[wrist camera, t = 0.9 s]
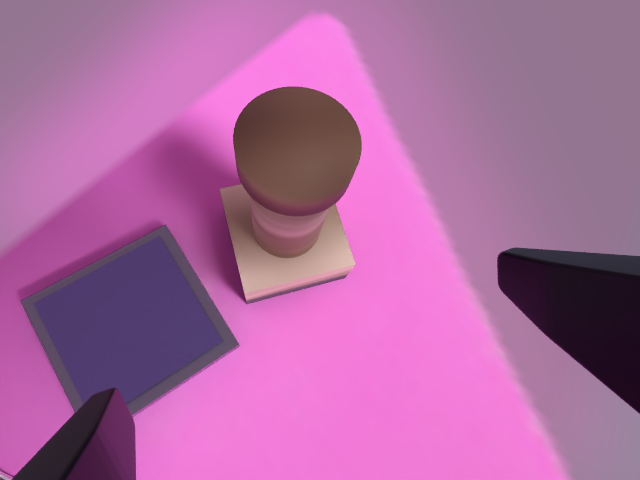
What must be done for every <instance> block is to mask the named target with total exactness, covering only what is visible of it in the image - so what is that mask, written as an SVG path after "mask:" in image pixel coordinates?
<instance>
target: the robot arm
mask: <svg viewBox="0 0 640 480" xmlns="http://www.w3.org/2000/svg"><path fill="white" fill-rule="evenodd" d="M497 268H498V285H499V287H500V289H501V291H502V292H503V293H504V294H505V295H506V296H507V297H508V298H509V299H510V300H511V301H512V302H513V303H514V304H515V305H516V306H517V307H518V308H519V309H520V310H521V311H522V312H523V313H524V314H525V315H526V316H527V317H528V318H529V319H530V320H531V321H532V322H533V323H534V324H535V325H536V326H537V327H538V328H539V329H540V330H541V331H542V332H543V333H544V334H545V335H546V336H548V337H549V338H550V339H551V340H552V341H553V342H554V343H555V344H557V345H558V346H559V347H560V348H562V349H563V350H564V351H565V352H566V353H568V354H569V355H570V356H571V357H572V358H574V359H575V360H576V361H577V362H578V363H580V364H581V365H582V366H583V367H584V368H585V369H587V370H588V371H589V372H590V373H591V374H593V375H594V376H595V377H596V378H597V379H599V380H600V381H601V382H602V383H603V384H605V385H606V386H607V387H608V388H609V389H611V390H612V391H613V392H614V393H615V394H616V395H618V396H619V397H620V398H621V399H623V400H624V401H625V402H626V403H627V404H629V405H630V406H631V407H632V408H633V409H634V410H636V411H637V412H638V413H639V414H640V256H628V255H615V254H600V253H586V252H571V251H557V250H543V249H528V248H511V249H508V250H506V251H503V252H501V253H500V254H499V255H498V258H497ZM12 480H136V451H135V425H134V421H133V418H132V415H131V413H130V411H129V409H128V407H127V405H126V403H125V401H124V399H123V397H122V395H121V393H120V391H119V390H118V389H117V388H114V387H113V388H109V389H106V390H104V391H101V392H98V393H95V394H93V395H92V396H91V397H90V398H89V399H88V400H87V401H86V402H85V403H84V404H83V405H82V406H81V407H80V408H79V410H78V411H77V412H76V413H75V414H74V415H73V416H72V417H71V418H70V419H69V420H68V421H67V422H66V423H65V424H64V425H63V426H62V427H61V428H60V429H59V430H58V431H57V433H56V434H55V435H54V436H53V437H52V438H51V439H50V440H49V441H48V442H47V443H46V444H45V445H44V446H43V447H42V448H41V449H40V450H39V451H38V452H37V453H36V454H35V456H34V457H33V458H32V459H31V460H30V461H29V462H28V463H27V464H26V465H25V466H24V467H23V468H22V469H21V470H20V471H19V472H18V473H17V474H16V475H15V476H14V477H13V479H12Z"/></svg>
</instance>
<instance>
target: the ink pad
mask: <svg viewBox="0 0 640 480" xmlns="http://www.w3.org/2000/svg"><path fill="white" fill-rule="evenodd" d="M21 303H22V305H23V307H24V309H25V311H26V313H27V315H28V317H29V319H30V321H31V324H32V326H33V328H34V330H35V332H36V334H37V336H38V338H39V340H40V342H41V344H42V346H43V348H44V350H45V352H46V354H47V356H48V358H49V360H50V362H51V364H52V366H53V368H54V370H55V372H56V374H57V376H58V378H59V380H60V382H61V384H62V387H63V389H64V391H65V393H66V395H67V397H68V399H69V401H70V403H71V405H72V407H73V409H74V411H75V413H76V412H77V411H78V410H79V408H80V407H81V406H82V405H83V404H84V403H85V402H86V401H87V400H88V399H89V398H90V397H91V396H92V395H93V394H95V393H98V392H101V391H104V390H106V389H109V388H113V387H114V388H117V389H118V390H119V391H120V393H121V395H122V397H123V399H124V401H125V403H126V405H127V407H128V409H129V411H130V413H131V415H132V417H134V416H135V415H137V414H138V413H140V412H141V411H143V410H144V409H146V408H147V407H149V406H150V405H152V404H153V403H155V402H156V401H158V400H159V399H161V398H162V397H164V396H165V395H167V394H168V393H170V392H171V391H173V390H174V389H176V388H177V387H179V386H180V385H182V384H183V383H185V382H186V381H188V380H189V379H191V378H193V377H194V376H196V375H197V374H199V373H200V372H202V371H203V370H205V369H206V368H208V367H209V366H211V365H212V364H214V363H215V362H217V361H218V360H220V359H221V358H223V357H224V356H226V355H227V354H229V353H230V352H232V351H233V350H235V349H236V348H238V347H239V346H240V345H239V343H238V342H237V340H236V338H235V337H234V335H233V333H232V332H231V330H230V329H229V327H228V325H227V324H226V322H225V320H224V319H223V317H222V315H221V314H220V312H219V311H218V309H217V307H216V306H215V304H214V302H213V301H212V299H211V297H210V296H209V294H208V293H207V291H206V289H205V288H204V286H203V284H202V283H201V281H200V279H199V278H198V276H197V274H196V273H195V271H194V270H193V268H192V266H191V265H190V263H189V261H188V260H187V258H186V256H185V255H184V253H183V252H182V250H181V248H180V247H179V245H178V243H177V242H176V240H175V238H174V237H173V235H172V234H171V232H170V230H169V229H168V227H167V226H166V225H164V226H162V227H160V228H158V229H156V230H154V231H153V232H151V233H149V234H147V235H145V236H143V237H141V238H139V239H137V240H136V241H134V242H132V243H130V244H128V245H126V246H124V247H122V248H120V249H118V250H117V251H115V252H113V253H111V254H109V255H107V256H105V257H103V258H101V259H100V260H98V261H96V262H94V263H92V264H90V265H88V266H86V267H84V268H83V269H81V270H79V271H77V272H75V273H73V274H71V275H69V276H67V277H66V278H64V279H62V280H60V281H58V282H56V283H54V284H52V285H50V286H49V287H47V288H45V289H43V290H41V291H39V292H37V293H35V294H33V295H31V296H30V297H28V298H26V299H24V300H22V301H21Z"/></svg>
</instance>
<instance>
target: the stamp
mask: <svg viewBox="0 0 640 480" xmlns="http://www.w3.org/2000/svg"><path fill="white" fill-rule="evenodd" d="M233 144H234V151H235V158H236V166H237V171H238V176H239V179H240V181H241V183H242V184H239V185H234V186H229V187H224V188H219V190H220V194H221V199H222V203H223V207H224V211H225V215H226V219H227V224H228V228H229V232H230V236H231V240H232V244H233V248H234V253H235V257H236V261H237V265H238V269H239V273H240V278H241V282H242V286H243V290H244V294H245V298H246V302H247V304H249V303H253V302H256V301H260V300H264V299H268V298H271V297H275V296H279V295H283V294H286V293H290V292H294V291H298V290H301V289H305V288H309V287H313V286H316V285H320V284H324V283H328V282H331V281H335V280H339V279H343V278H345V277H346V276H347V275H348V273H349V272H350V271H351V270H352V268H353V267H354V266H355V262H354V259H353V256H352V253H351V250H350V246H349V243H348V240H347V237H346V234H345V231H344V228H343V225H342V222H341V219H340V216H339V213H338V210H337V207H336V204H335V203H336V202H337V201H338V200H339V199H340V198H341V197H342V196H343V194H344V193H345V192H346V190H347V188H348V186H349V184H350V181H351V179H352V177H353V174H354V172H355V170H356V167H357V165H358V163H359V159H360V156H361V136H360V132H359V129H358V126H357V124H356V122H355V120H354V119H353V117H352V115H351V114H350V113H349V112H348V110H347V109H346V108H345V107H344V106H343V105H342V104H340V103H339V102H338V101H336V100H335V99H334V98H332V97H330V96H329V95H326V94H324V93H322V92H320V91H317V90H314V89H309V88H304V87H282V88H277V89H273V90H270V91H267V92H265V93H263V94H261V95H259V96H258V97H256V98H255V99H253V100H252V101H251V102H250V103H248V105H247V106H246V107H245V108H244V109H243V110H242V112H241V113H240V115H239V117H238V119H237V121H236V124H235V128H234V134H233Z"/></svg>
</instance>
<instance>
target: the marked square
mask: <svg viewBox="0 0 640 480" xmlns="http://www.w3.org/2000/svg"><path fill="white" fill-rule="evenodd" d="M12 479H13V477H11V476H9V475H7V474H6V473H4V472H2V471H0V480H12Z"/></svg>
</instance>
